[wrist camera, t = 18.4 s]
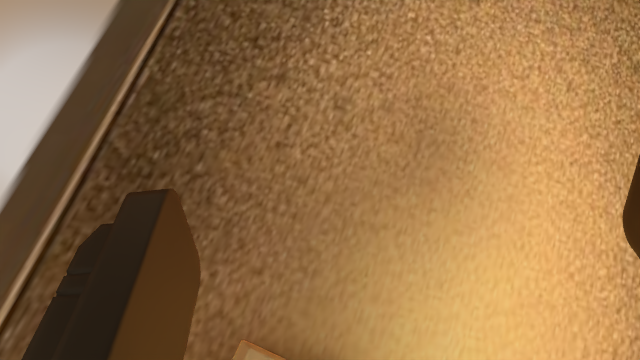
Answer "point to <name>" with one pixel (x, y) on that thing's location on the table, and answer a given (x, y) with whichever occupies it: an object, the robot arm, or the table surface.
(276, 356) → the box
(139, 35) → the table surface
